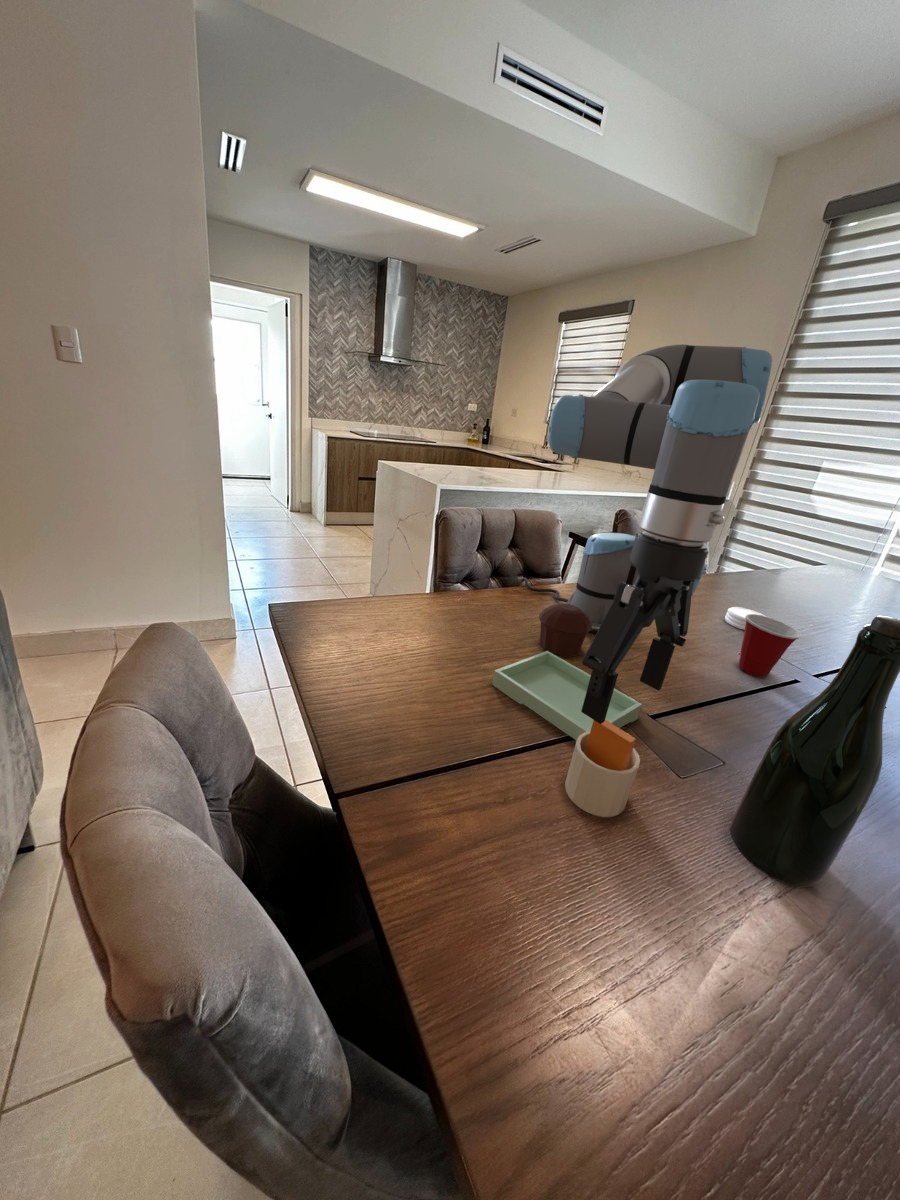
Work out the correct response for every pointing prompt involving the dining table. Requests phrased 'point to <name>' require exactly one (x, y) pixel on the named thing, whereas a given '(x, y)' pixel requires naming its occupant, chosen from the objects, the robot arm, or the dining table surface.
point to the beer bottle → (821, 766)
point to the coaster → (738, 616)
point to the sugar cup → (599, 782)
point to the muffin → (563, 629)
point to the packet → (609, 746)
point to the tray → (559, 693)
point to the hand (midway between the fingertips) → (623, 700)
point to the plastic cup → (764, 644)
